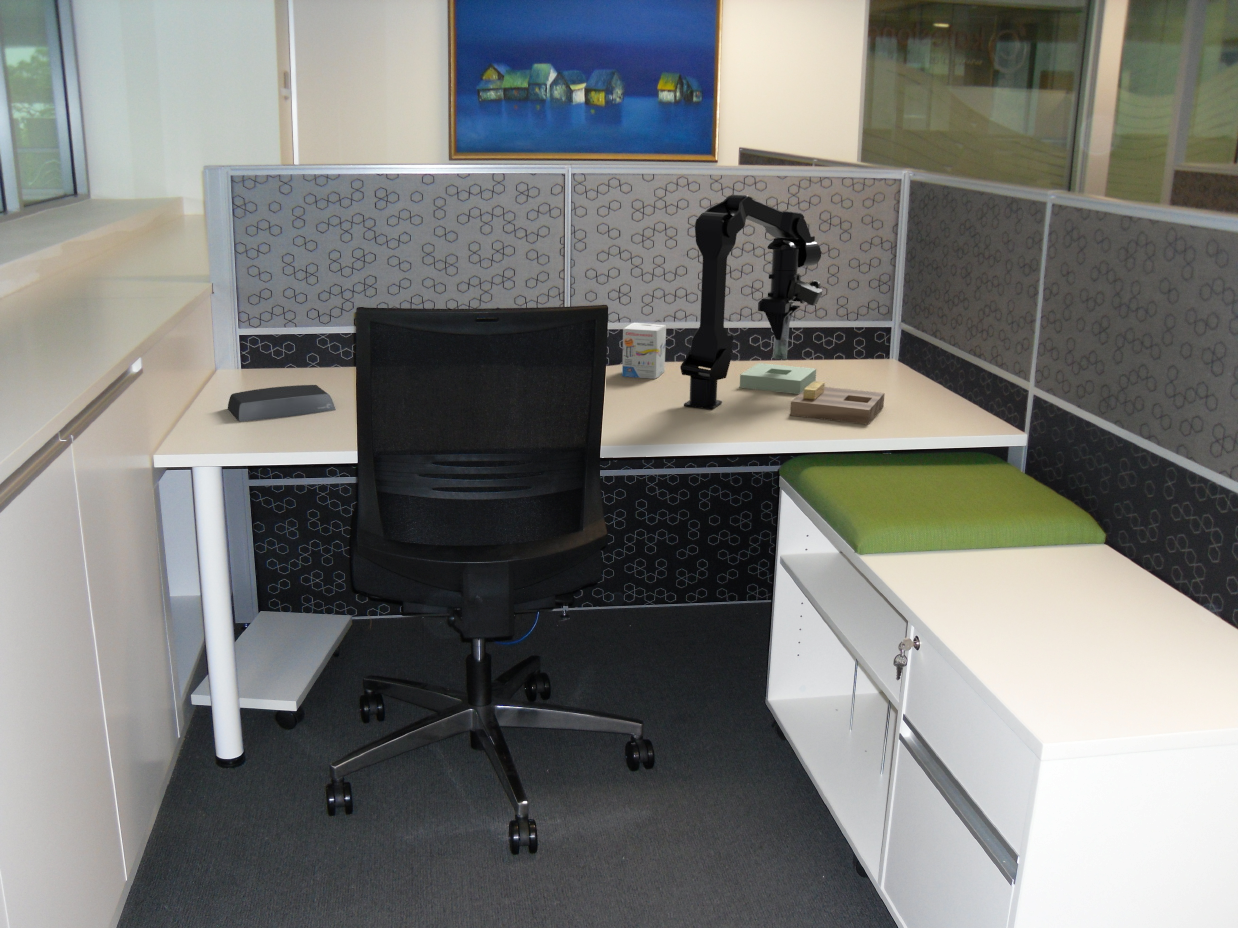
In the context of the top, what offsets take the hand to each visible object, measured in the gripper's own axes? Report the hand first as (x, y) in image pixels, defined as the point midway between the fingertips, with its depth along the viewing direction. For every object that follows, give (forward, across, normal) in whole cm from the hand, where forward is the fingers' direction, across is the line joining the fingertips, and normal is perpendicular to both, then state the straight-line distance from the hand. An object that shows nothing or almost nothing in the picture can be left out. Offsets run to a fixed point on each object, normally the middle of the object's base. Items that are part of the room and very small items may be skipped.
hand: (780, 338), depth 241 cm
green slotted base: (+11, 0, 0) cm, 11 cm away
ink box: (+11, -4, +32) cm, 34 cm away
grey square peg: (+4, 0, 0) cm, 5 cm away
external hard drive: (+12, -68, +86) cm, 110 cm away
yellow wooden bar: (+8, -19, -13) cm, 24 cm away
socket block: (+11, -18, -18) cm, 28 cm away
